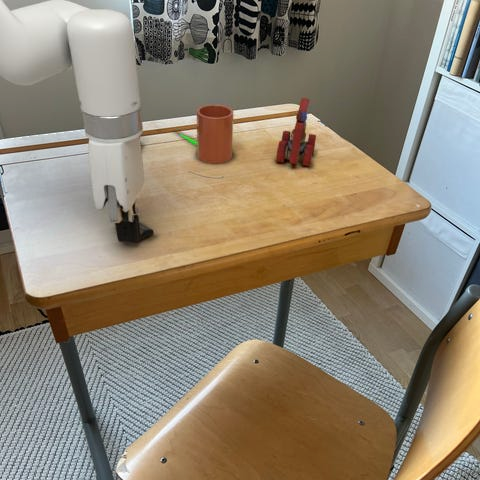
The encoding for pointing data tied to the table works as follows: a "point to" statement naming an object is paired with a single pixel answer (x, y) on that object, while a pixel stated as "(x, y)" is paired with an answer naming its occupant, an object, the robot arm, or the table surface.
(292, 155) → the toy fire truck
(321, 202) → the table surface
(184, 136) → the green marker pen
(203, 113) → the cup
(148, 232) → the block
